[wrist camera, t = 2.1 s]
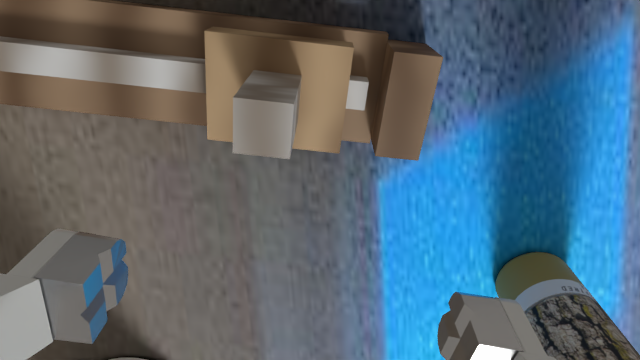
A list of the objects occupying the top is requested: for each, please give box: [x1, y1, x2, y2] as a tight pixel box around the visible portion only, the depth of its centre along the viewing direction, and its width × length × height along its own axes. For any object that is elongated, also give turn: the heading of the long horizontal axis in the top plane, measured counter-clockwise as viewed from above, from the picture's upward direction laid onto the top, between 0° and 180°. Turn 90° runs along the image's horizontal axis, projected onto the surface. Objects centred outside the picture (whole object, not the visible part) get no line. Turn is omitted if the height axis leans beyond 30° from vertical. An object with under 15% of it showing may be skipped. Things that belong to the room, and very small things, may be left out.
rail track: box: [0, 0, 443, 160], centre depth 25 cm, size 50×10×10 cm, turn 84°
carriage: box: [204, 27, 354, 159], centre depth 25 cm, size 9×7×9 cm
